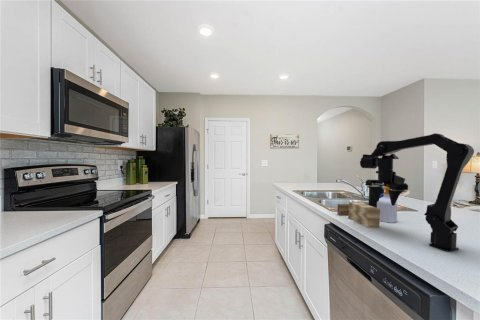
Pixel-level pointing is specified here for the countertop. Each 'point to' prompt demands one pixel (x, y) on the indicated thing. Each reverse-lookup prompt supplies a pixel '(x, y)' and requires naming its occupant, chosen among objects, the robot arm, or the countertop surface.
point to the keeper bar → (364, 214)
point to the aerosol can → (372, 200)
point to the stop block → (343, 209)
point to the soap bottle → (387, 208)
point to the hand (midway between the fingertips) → (384, 203)
